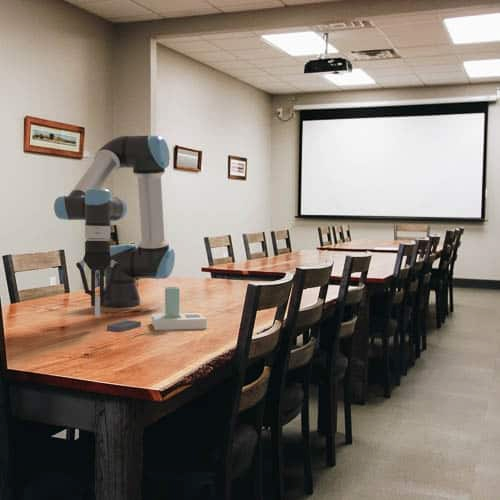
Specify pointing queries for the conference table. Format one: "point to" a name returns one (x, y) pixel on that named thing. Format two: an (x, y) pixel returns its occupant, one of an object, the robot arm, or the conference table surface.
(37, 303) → the conference table surface
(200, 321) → the outlet board
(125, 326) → the phone
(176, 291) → the pale green block
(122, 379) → the conference table surface
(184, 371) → the conference table surface
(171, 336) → the conference table surface
